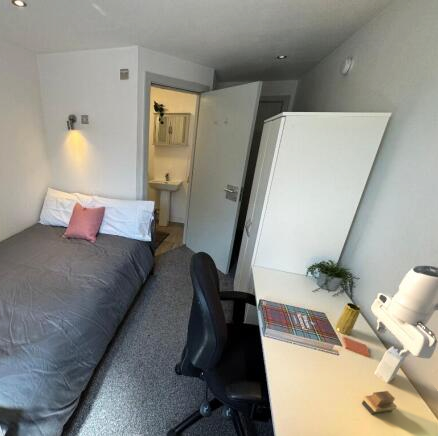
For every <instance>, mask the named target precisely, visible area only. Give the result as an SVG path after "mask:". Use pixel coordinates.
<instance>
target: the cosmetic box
mask: <svg viewBox="0 0 438 436" xmlns="http://www.w3.org/2000/svg"><path fill="white" fill-rule="evenodd" d="M398 349H399V348H397V347H395V346H391V347H390V348H388V349H387V350H386V351H385V353H384V354H383V355H382V358H381V360H380V362H379V364H378V365H377V367H376V369H375V371H374V375H375V376H376V377H378V378H379V379H380V380H381V381H383V382H385V384H389V383H390V382H391V381H393V379H394V378H395V377H396V375H397V373H398V372H399V370H400V368H401V367H402V365H403V363H404V361H405V359H406V357H402V356H400V355H399V354H398V353H397V351H398Z"/></svg>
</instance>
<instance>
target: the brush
mask: <svg viewBox="0 0 438 436" xmlns="http://www.w3.org/2000/svg"><path fill="white" fill-rule="evenodd" d="M395 399H396V397H394V396H393V395H392V394H391V392H389V391H388V390H383V391H376V392H373V393H372V394H371V395H364V396H363V397H362V402H361V405H362V406H363V407H364V408H365V410H367V412H369V414H370V415H380V414H386V413H385V412H387V413H392V412H393V411H394V410H396V409H397V407H398V406H397V404H395V403H394V401H395ZM379 413H380V414H379Z"/></svg>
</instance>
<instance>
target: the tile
mask: <svg viewBox="0 0 438 436" xmlns="http://www.w3.org/2000/svg"><path fill="white" fill-rule="evenodd" d="M342 341H343V345H344V348H345V349H346V350H348V351H351V352H353V353H356V354H359V355H362V356H364V357H366V358H370V356H371V355H370V352H369V349H368V346H367V344H365V343H362V342H359V341H356V340H353V339H351V338H348V337H345V336H343V338H342Z"/></svg>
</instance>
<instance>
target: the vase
mask: <svg viewBox="0 0 438 436" xmlns="http://www.w3.org/2000/svg"><path fill="white" fill-rule="evenodd" d="M361 312H362V308H361V306H359V305H358V304H355V303H353V302H347V303H345V306H344V309H343V310H342V312H341V314H340V317H339V318H338V320H337V322H336V324H335V326H334V327H335V329H336V330H337V331H338V332H339V333H341V334H343V335H346V336H350V335H352V332H353V330H354V327H355V324H356V322H357V320H358V318H359V316H360V313H361Z"/></svg>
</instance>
